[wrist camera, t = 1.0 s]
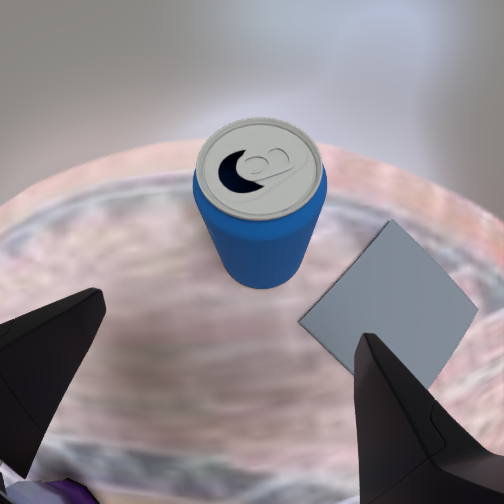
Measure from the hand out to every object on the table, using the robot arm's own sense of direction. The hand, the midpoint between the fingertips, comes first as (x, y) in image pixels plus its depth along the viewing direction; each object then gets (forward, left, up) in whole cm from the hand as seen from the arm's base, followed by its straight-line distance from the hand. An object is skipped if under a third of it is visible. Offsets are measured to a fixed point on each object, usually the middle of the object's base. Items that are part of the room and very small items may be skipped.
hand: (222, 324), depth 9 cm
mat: (-8, -10, -13) cm, 18 cm away
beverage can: (+4, -6, -13) cm, 15 cm away
